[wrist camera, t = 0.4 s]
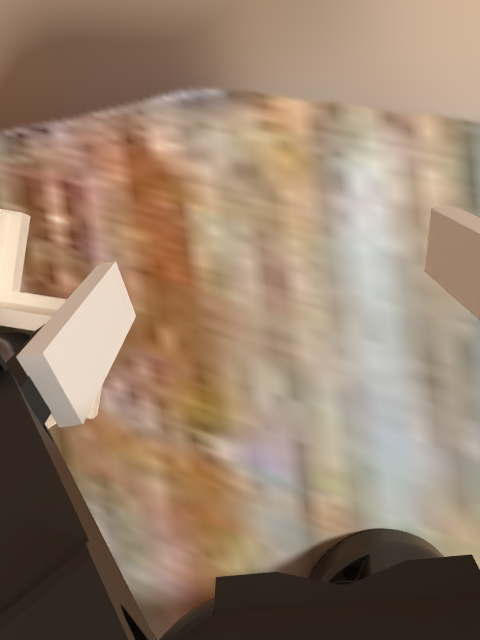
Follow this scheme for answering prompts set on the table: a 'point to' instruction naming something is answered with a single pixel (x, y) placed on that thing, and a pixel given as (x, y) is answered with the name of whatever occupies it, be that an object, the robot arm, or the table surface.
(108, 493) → the table surface
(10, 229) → the knob panel
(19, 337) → the knob
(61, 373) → the robot arm
